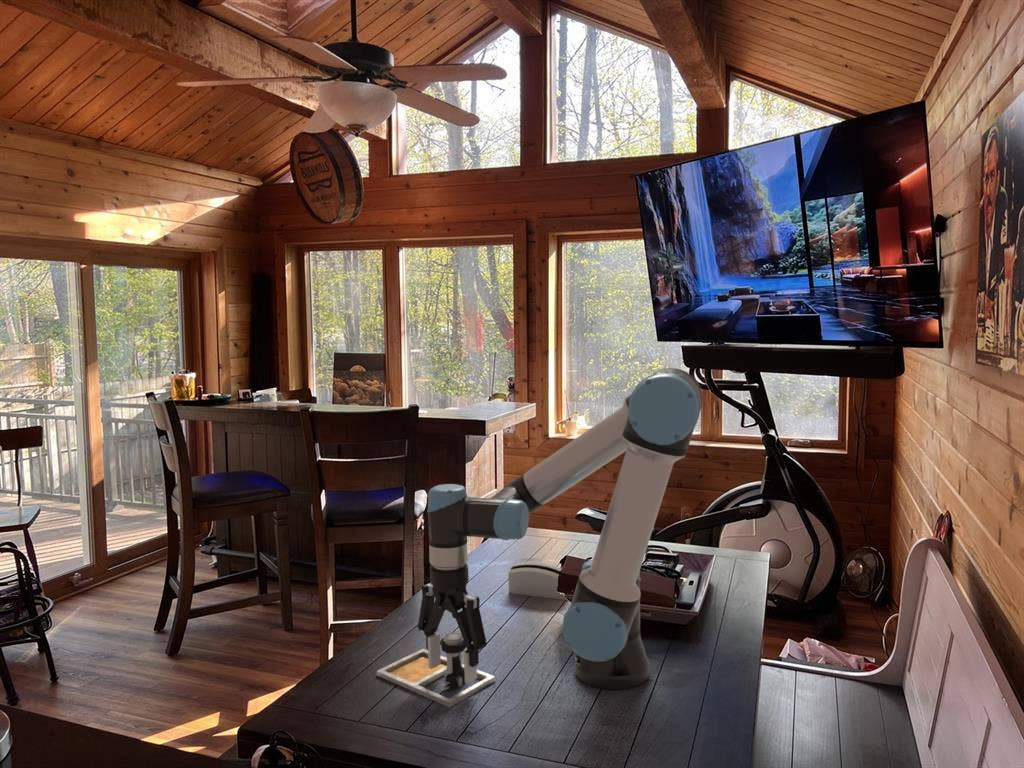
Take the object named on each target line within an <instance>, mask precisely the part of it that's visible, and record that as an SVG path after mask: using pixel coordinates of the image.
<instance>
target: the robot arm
mask: <svg viewBox="0 0 1024 768" xmlns="http://www.w3.org/2000/svg"><path fill="white" fill-rule="evenodd" d="M703 401H704V399H703V391H702V388H701V385H700V384H699V383H698V381H697V379H695V377H694V376H693V375H691V374H690V373H688V371H685V370H683V369H679V368H674V367H668V368H662V369H658V370H656V371H654V372H653V373H652V374H650V375H648V376H646V377H645V378H643V379H642V380H641V381H640V382H639V383H638V384H637V385H636V386H635V388H634V390H632V393H631V394H630V395H628V396H626V397H625V398H624V400H623V404H622V405H623V406H621V407H620V408H618V409H617V410H615V411H614V412H613V413H611V414H610V415H608V416H606V417H605V418H604V419H602V420H601V421H599V422H598V423H597V424H595V425H593V426H592V427H591V428H589V429H588V430H586V431H584V433H582V434H581V435H578V436H577V437H576V438H575V439H573V440H572V441H570V442H569V443H567V444H565V445H564V446H563V447H561V448H560V449H558V450H556V451H555V452H554V453H552V454H551V455H550V456H548V457H546V458H545V459H544V460H542V461H541V462H539V463H537V465H535V466H533V467H532V468H530V469H529V470H528V471H526V472H524V474H522V475H521V476H519V477H517V478H516V479H515V480H512V481H511V482H509V483H507V484H506V485H505V486H504V487H502V489H501V490H499V491H498V492H496V493H495V494H494V495H493V496H491V497H485V498H484V497H471V496H468V493H467V488H466V487H465V486H463V485H461V484H457V483H456V484H455V483H445V484H438V485H434V486H433V487H431V488H430V489H429V491H428V495H427V510H426V511H427V517H428V518H427V519H428V521H427V523H428V539H429V540H428V542H429V544H428V545H429V547H428V548H429V549H428V550H429V555H428V556H429V564H430V566H429V576H430V577H429V578H430V579H429V580H430V582H429V583H427V584H424V585H422V586H421V594H422V595H421V597H422V598H421V604H420V611H419V616H418V623H417V629H418V631H422V632H423V634H424V635H425V645H426V650H428V663H429V668H430V669H432V668H434V667H436V666H438V665H440V664H442V663H441V656H442V654H441V645H440V641H441V634H440V633H439V632H438V631H439V630H440V629H439V626H440V623H441V622H442V618H443V616H444V614H445V612H446V611H448V612H449V613H451V616H452V618H453V619H455V620H456V621H455V622H456V623H457V625H458V629H459V631H460V634H462V637H463V639H464V642H465V645H466V648H465V650H464V651H463V664H464V674H465V683H464V684H467V685H468V684H470V683H471V682H474V681H475V680H477V679H478V677H477V670H478V667H477V666H478V665H479V663H480V662H479V659H480V658H479V651H480V650H481V649H484V648H486V647H487V638H486V634H485V629H484V628H485V627H484V624H483V621H482V620H483V619H482V615H481V610H480V601H481V600H480V599H481V598H480V596H478V595H476V596H471V595H469V593H468V591H467V585H468V583H469V579H470V578H469V565H468V559H469V556H468V554H469V553H468V537H471V538H483V539H484V538H485V539H496V540H503V541H509V540H522V538H524V537H525V536H526V534H527V530H528V528H529V520H530V519H529V518H530V515H531V514H533V513H534V512H536V511H537V510H539V509H540V508H542V507H543V506H544V505H545V504H547V503H549V502H550V501H552V500H553V499H554V498H556V497H558V496H559V495H561V494H563V493H564V492H565V491H567V490H569V489H570V488H572V487H573V486H574V485H576V484H578V483H580V482H581V481H583V480H584V479H585V478H587V477H589V476H590V475H592V474H593V473H595V472H597V470H599V469H600V468H602V467H603V466H606V465H607V464H608V463H610V462H611V461H613V460H615V459H616V458H618V457H619V456H620V455H622V454H625V455H624V458H623V461H622V464H621V467H620V469H619V470H620V471H619V474H618V476H617V481H616V482H615V483H616V484H615V487H614V490H613V493H612V498H611V501H610V504H609V506H608V510H607V514H606V515H605V520H604V523H603V527H602V529H601V532H600V536H599V539H598V542H597V546H596V550H595V552H594V556H593V558H592V560H588V561H586V562H584V563H583V564H582V566H581V567H582V568H581V572H580V574H579V577H578V579H577V583H576V587H575V588H574V589H575V590H574V592H573V597H572V599H571V602H570V605H569V607H568V609H567V611H565V613H564V616H563V620H562V621H563V622H562V635H563V637H564V640H565V641H566V644H567V645H568V647H569V648H570V650H572V651H573V652H574V653H575V654H576V655H575V658H574V673H575V675H576V677H577V678H578V680H580V681H581V682H583V683H585V684H587V685H588V686H592V687H595V688H599V689H604V690H625V689H631V688H633V687H637V686H640V685H642V684H643V683H645V682H646V681H647V679H648V678H649V677H650V661H649V659H648V657H647V653H646V650H645V646H644V644H643V640H642V638H641V596H642V595H641V594H642V593H641V586H640V584H641V580H642V578H641V575H640V573H641V572H640V571H641V568H642V565H643V562H644V558H645V556H646V555H645V554H646V553H647V549H648V545H649V542H650V540H651V537H652V533H653V529H654V527H655V525H656V520H657V518H658V514H659V510H660V507H661V504H662V501H663V500H664V499H663V497H664V495H665V492H666V488H667V485H668V483H669V478H670V476H671V473H672V470H673V466H674V464H675V462H678V461H679V460H681V459H684V458H685V457H686V455H687V452H688V449H689V445H690V442H691V440H692V436H693V435H694V429H695V427H696V425H697V422H699V421H698V420H699V419H700V413H701V410H702V406H703ZM460 610H461V611H460ZM458 611H459V612H458Z"/></svg>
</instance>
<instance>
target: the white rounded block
mask: <svg viewBox="0 0 1024 768" xmlns="http://www.w3.org/2000/svg"><path fill="white" fill-rule="evenodd" d="M560 569H562V568H561V567H558V566H556V565H551V564H547V563H542V562H534V561H533V562H531V561H530V562H529V561H527V562H520V563H519V562H518V563H515V564H513V565H512V566H511V567H510V570H509V571H508V577H507V579H508V594H513V595H521V596H522V595H523V596H529V597H530V596H531V597H538V598H546V599H553V600H554V599H556V600H563V601H568V599H567V598H566V597H565V596H564V595H563V594H560V593H558V591H557V584H558V576H559V572H560Z"/></svg>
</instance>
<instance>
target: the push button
mask: <svg viewBox="0 0 1024 768" xmlns="http://www.w3.org/2000/svg"><path fill="white" fill-rule="evenodd" d="M440 649H441V651H442V652H444V653H445V654H446V658H447V665H446V666H447V674H445V675H444V676H443V683H442V684H441V685H440V686H442V688H441V689H440V690H441V691H446V690H451V691H452V690H454V689H455V688H457V687H461V686H462V685H463V683H464V684H466V683H465V674H464V668H462V664H463V663H462V661H463V660H462V652H464V650H466V649H467V647H466V645H465V642H464V639H463V637H462V634H461V632H460V633H459V632H449V633H447V634H445V635H444V637H443V638H440Z"/></svg>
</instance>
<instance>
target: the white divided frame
mask: <svg viewBox="0 0 1024 768" xmlns="http://www.w3.org/2000/svg"><path fill="white" fill-rule="evenodd" d="M462 668H464V663H462ZM445 674H447V656H443V655H441V664H440V665H438V666H436V667H434V668H432V669H430V668H429V663H428V650H427V649H425V648H421V649H419V650H417V651H415V652H413V653H411V654H409V655H406V656H405V657H403V658H401V659H398V660H396V661H394V662H393V663H390V664H388V665H386V666H384V667H382V668H380V669H378V670H376V676H377V677H379V678H382V679H383V680H386V681H388V682H390V683H393V684H395V685H398V686H400V687H402V688H404V689H407V690H408V691H411V692H413V693H416V694H418V695H420V696H422V697H425V698H427V699H429V700H432V701H434V702H436V703H438V704H440V705H442V706H445V707H447V708H451V707H454V706H455V705H456V704H459V703H460V702H462V701H464V700H465V699H467V698H468V697H470V696H472V695H474V694H475V693H478V692H479V691H481V690H482V689H484V688H486V687H487V686H489V685H491V684H493V683H494V682H496V677H495V676H494V675H492V674H490V673H487V672H484V671H482V670H479V669H477V679H480V681H478V682H477V683H475V684H473V685H471V686H470V687H467V688H465V690H462V691H460V692H459V693H457V694H455V695H453V696H451V697H450V698H449V697H446V696H444V695H441V694H439V693H437V692H435V691H432V690H430V689H427V688H425V686H427V685H429V684H430V683H432V682H434V681H436V680H438V679H439V678H442V677H444V675H445Z"/></svg>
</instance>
